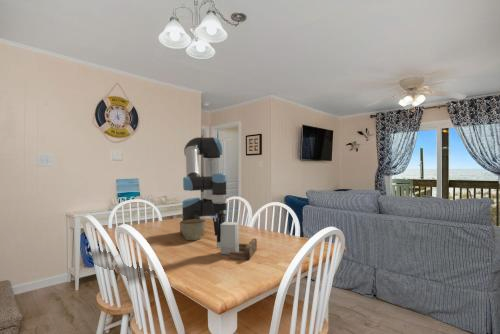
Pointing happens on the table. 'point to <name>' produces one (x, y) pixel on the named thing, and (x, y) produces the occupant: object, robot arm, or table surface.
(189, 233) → the planter bowl
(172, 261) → the table surface
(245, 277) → the table surface
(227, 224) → the skincare box
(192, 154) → the robot arm
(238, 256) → the bay
